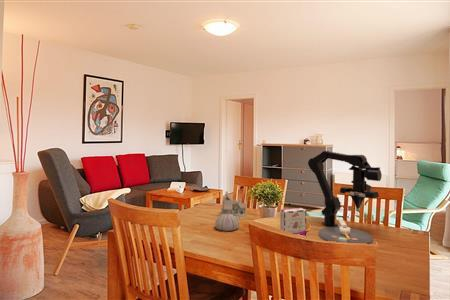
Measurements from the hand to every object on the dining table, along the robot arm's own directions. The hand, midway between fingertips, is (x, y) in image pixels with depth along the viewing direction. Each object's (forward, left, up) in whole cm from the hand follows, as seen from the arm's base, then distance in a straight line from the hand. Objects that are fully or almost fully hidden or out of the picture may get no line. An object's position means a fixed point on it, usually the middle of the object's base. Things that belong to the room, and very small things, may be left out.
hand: (358, 208), depth 163 cm
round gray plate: (+8, -11, -12) cm, 18 cm away
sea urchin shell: (-11, -68, -12) cm, 70 cm away
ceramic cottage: (-36, -62, -12) cm, 73 cm away
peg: (+7, -11, -10) cm, 17 cm away
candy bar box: (+16, -40, -12) cm, 45 cm away
